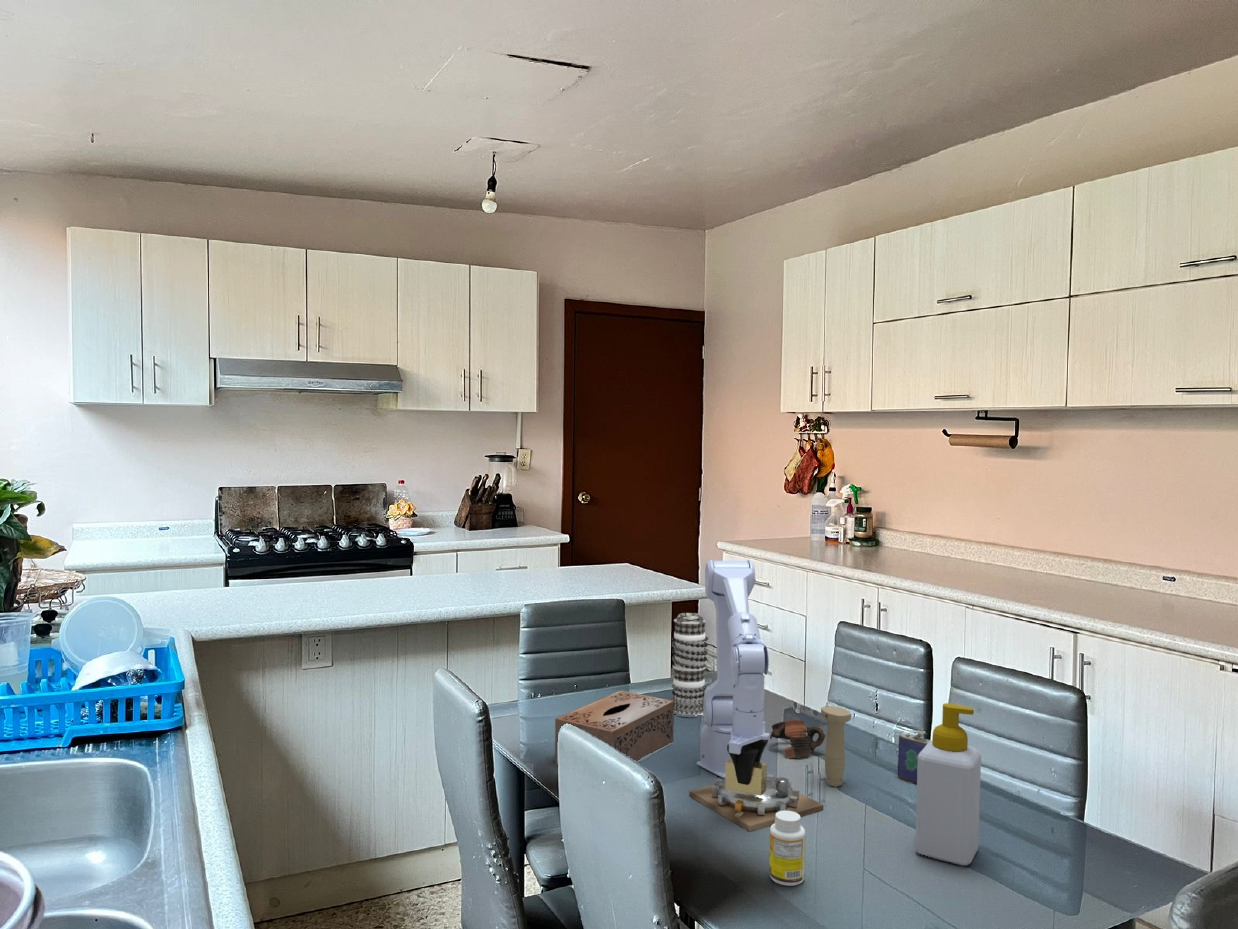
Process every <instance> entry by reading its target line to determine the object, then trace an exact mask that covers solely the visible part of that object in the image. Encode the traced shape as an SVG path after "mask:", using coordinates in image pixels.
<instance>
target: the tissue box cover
mask: <svg viewBox="0 0 1238 929" xmlns="http://www.w3.org/2000/svg"><path fill="white" fill-rule="evenodd" d="M674 719H675V715H674V701H672V699H665V698H661V697H657V696H651V695H646V694H640V693H636V692H631V691H626V690H625V691H624V690H618V691H616V692H613V693H611V694H608V695H607V696H604V697H602V698H599V699H597V700H595V701H593V702H590V703H588V704H586V705H584V706H581V707H579V708H577V709H574V710H573V711H570V712H568V713H565V714H563V715H561V716H559V717H556V718H555V720H554V723H555V725H554V730H555V731H554V765H556V764H557V742H558V732H559V729H560V728H561V726H563V725H564V724H566V723H568V724H571V725H573V726H576V727H578V728H580V729H583V730H585V731H586V732H589V733H590V734H592V735H593V736H596V737H597V738H599V739H601V740H602V741H604V742H605V743H608V744H609V745H610V746H613V747H614V748H615V749H618V750H619V751H620V752H622V753H624V754H626V756H630V758H632V759H633V760H636V761H638V760H640V759H641V758H642V757H644V756H646V755H648V754H650V753H653V752H654V751H656V750H658V749H660V748H662V747H664V746H666V745H668V744H669V743H672V742H673V743H674V732H675V731H674V726H675V725H674V723H675V722H674V721H675V720H674Z"/></svg>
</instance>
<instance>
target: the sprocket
mask: <svg viewBox="0 0 1238 929" xmlns="http://www.w3.org/2000/svg"><path fill="white" fill-rule="evenodd" d="M714 785H715V786H712V796H714V797H718V803H719V804H720V805H726V804H728V805H730V806H733V807H735V811H738V812H742V811H743V810H748V811H757V813H758V814H760V815H764V814H765V812H767V811H778V812H779V811H786V807H788V806H793V807H796V806H797V805H798V798H799V793H800V789H799V788H796V787H795V788H794V787H792V781H790V780H789V779H788V778H786V777H776V778H775V774H770V773H768V774H767V781H766V791H765V792H764V793H763V794H762V795H761V796H759V795H754V794H749V793H744V792H740V791H735V790H730V789H725V778H719V777H717V778H716V779H715V780H714Z"/></svg>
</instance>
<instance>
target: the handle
mask: <svg viewBox="0 0 1238 929" xmlns="http://www.w3.org/2000/svg"><path fill="white" fill-rule="evenodd" d="M820 715H821V716H822V717H823V719H824V720H825V721H826V722H827V723H826V736H825V749H824V750H825V751H824V770H825V771H824V772H825V779H826V784H827V785H828V786H831V787H836V788H837V787H842V785H843V781H844V780H843V777H844V774H845V773H844V772H845V764H846V763H845V762H846V760H845V759H846V752H845V750H846V749H845V746H846V745H845V724H846V723H848V722H850V721H851V719H852V713H851V712H850V711H849V710H847V709H846V708H842V707H839V706H835V705H834V706H833V705H829V706H828V705H827V706H822V707H821V708H820Z"/></svg>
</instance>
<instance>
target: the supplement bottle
mask: <svg viewBox="0 0 1238 929" xmlns="http://www.w3.org/2000/svg"><path fill="white" fill-rule="evenodd" d="M801 817H802V816H801ZM801 817H800V815H799V814H798V813H796V812H793V811H779V812H777V813H776V815H775V823H774V824H773V825H770V829H769V877H770V878H771V880H772V881H774V883H776V884H779V885H782V886H787V887H790V886H791V887H792V886H798V885H800V884H801V883H803V882H804V881H805V877H806V876H805V875H806V868H805V867H806V829H805V828H804V827H803V826H802V822H801V820H802V819H801Z"/></svg>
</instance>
